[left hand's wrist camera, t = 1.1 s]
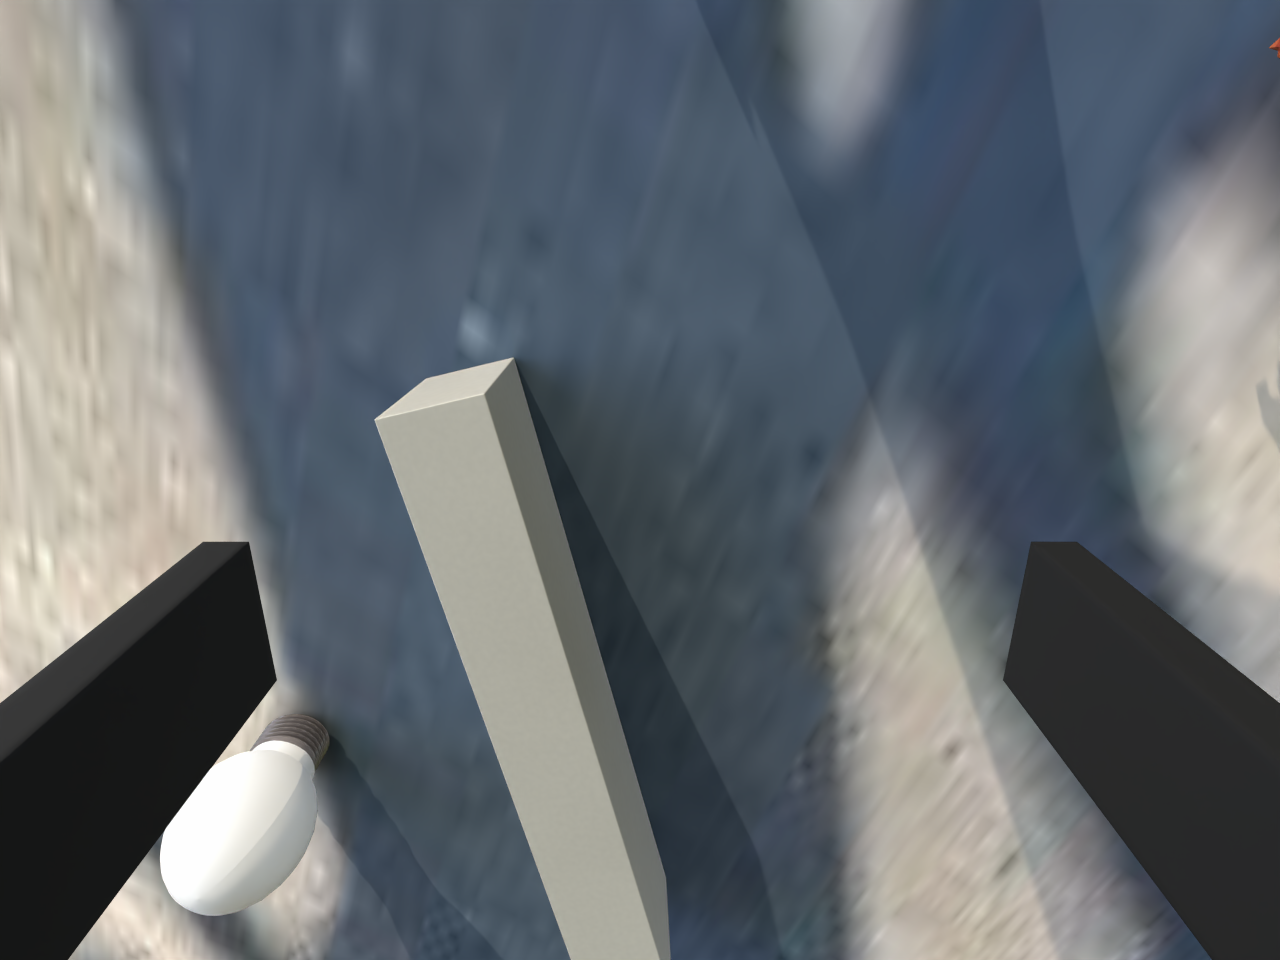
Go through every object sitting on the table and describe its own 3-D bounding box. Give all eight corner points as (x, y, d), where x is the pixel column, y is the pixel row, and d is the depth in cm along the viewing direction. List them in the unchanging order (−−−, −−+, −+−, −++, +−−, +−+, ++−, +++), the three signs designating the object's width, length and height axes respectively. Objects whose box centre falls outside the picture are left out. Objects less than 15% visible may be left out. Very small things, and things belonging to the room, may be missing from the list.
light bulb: (298, 674, 44) (195, 817, 33) (377, 751, 46) (303, 910, 35) (215, 732, 45) (91, 887, 35) (296, 805, 47) (201, 973, 36)
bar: (425, 378, 38) (373, 419, 31) (514, 357, 38) (484, 393, 30) (597, 891, 50) (590, 1015, 42) (666, 877, 49) (673, 1000, 42)
